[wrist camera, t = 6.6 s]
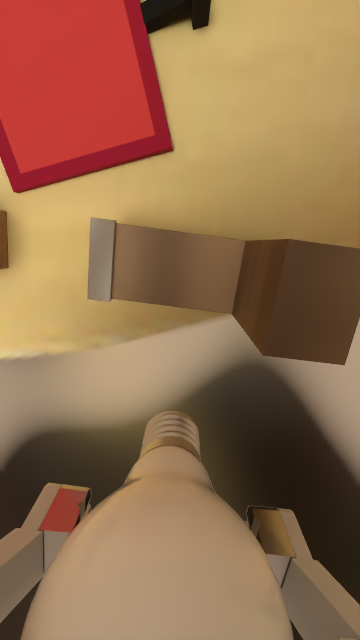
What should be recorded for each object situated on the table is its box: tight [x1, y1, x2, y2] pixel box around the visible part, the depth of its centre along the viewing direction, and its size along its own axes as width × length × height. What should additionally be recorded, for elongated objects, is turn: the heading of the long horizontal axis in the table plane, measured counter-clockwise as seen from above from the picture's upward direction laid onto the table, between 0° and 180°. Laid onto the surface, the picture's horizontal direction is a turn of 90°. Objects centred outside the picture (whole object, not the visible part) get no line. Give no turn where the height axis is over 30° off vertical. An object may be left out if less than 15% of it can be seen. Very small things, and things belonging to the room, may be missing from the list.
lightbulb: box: [21, 411, 294, 640], centre depth 9 cm, size 6×6×11 cm
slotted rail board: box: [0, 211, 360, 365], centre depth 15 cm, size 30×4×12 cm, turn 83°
